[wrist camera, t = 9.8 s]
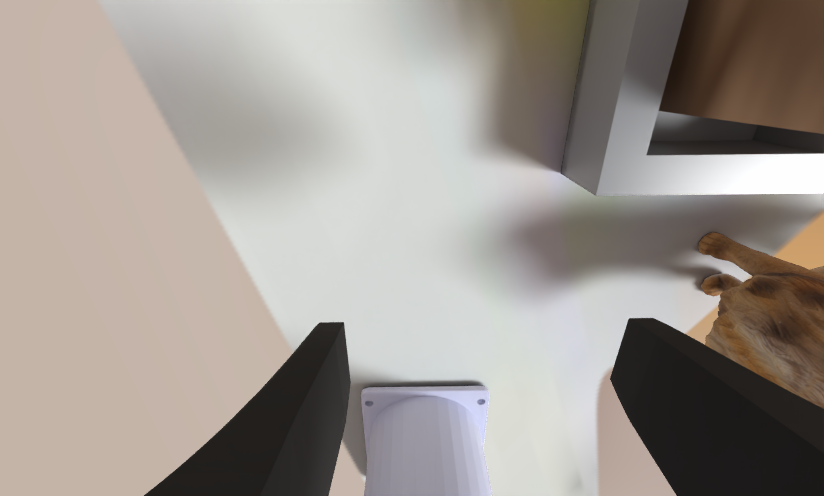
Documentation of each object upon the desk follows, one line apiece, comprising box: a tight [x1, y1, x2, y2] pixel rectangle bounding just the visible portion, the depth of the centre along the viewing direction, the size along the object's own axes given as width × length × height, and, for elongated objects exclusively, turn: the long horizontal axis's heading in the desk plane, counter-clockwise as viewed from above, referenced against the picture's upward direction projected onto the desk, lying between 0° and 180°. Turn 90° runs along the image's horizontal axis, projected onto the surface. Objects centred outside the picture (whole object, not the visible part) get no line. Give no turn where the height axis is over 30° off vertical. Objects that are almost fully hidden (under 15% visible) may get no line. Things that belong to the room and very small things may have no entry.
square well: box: [561, 0, 824, 196], centre depth 13 cm, size 10×10×4 cm
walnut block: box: [659, 0, 824, 134], centre depth 11 cm, size 4×4×8 cm
